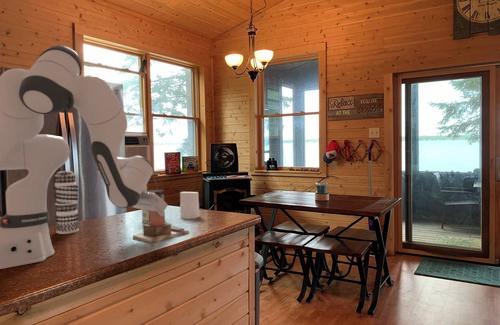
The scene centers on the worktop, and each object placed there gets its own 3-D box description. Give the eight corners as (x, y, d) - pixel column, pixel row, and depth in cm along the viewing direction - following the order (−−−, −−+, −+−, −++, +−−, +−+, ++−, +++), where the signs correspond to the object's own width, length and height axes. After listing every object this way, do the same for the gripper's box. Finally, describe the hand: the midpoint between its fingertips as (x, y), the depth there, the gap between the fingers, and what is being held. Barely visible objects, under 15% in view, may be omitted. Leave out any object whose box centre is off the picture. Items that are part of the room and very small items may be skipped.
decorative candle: (63, 235, 148) (60, 172, 147) (50, 232, 153) (47, 171, 152) (84, 230, 156) (82, 170, 155) (71, 228, 161) (69, 170, 160)
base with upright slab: (176, 218, 178) (176, 193, 178) (187, 214, 187) (186, 190, 186) (192, 219, 175) (192, 193, 174) (202, 215, 183) (202, 191, 183)
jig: (150, 242, 133) (150, 229, 133) (133, 238, 140) (132, 226, 140) (189, 233, 147) (188, 221, 147) (171, 229, 154) (170, 218, 154)
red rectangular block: (156, 232, 139) (155, 205, 139) (150, 230, 142) (149, 204, 142) (164, 230, 142) (163, 204, 141) (158, 229, 145) (157, 203, 144)
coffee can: (168, 218, 177) (167, 189, 176) (159, 223, 167) (158, 192, 166) (148, 218, 179) (147, 189, 178) (138, 222, 169) (136, 192, 168)
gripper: (156, 186, 129) (179, 210, 137) (125, 183, 142) (148, 205, 150) (145, 200, 126) (169, 224, 134) (114, 196, 139) (138, 217, 147)
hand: (158, 214), depth 142 cm, fingers open, 4 cm apart
